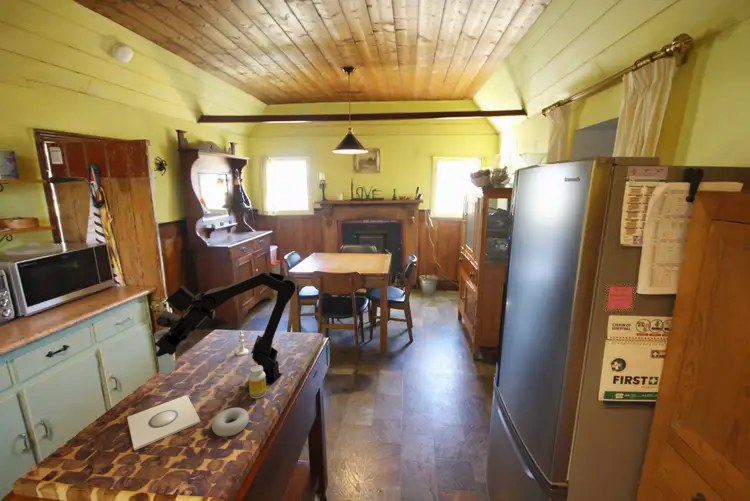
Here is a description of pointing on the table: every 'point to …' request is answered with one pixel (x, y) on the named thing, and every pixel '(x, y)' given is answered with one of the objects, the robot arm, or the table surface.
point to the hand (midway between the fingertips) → (160, 352)
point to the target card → (161, 421)
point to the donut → (234, 427)
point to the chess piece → (241, 346)
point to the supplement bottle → (257, 382)
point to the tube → (165, 360)
